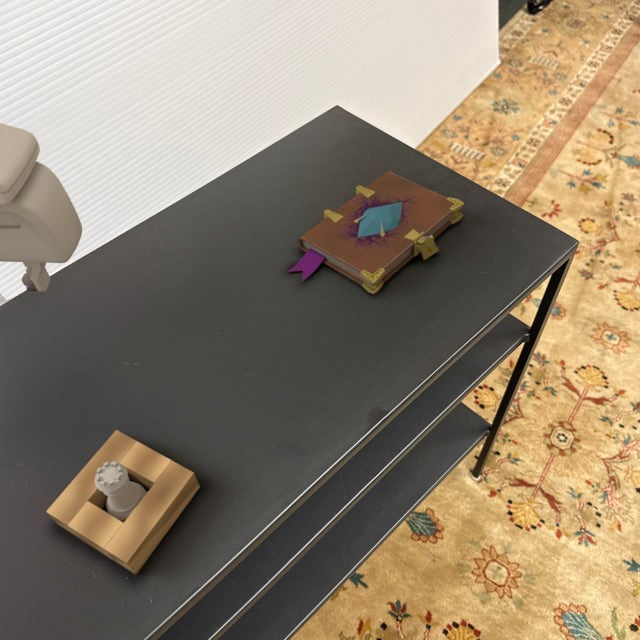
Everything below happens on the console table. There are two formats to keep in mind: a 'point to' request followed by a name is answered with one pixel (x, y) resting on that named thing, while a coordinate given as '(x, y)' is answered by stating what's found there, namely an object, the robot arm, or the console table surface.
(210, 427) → the console table surface
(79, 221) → the robot arm
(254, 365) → the console table surface
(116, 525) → the square wooden frame
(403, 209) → the book
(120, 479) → the rook chess piece
